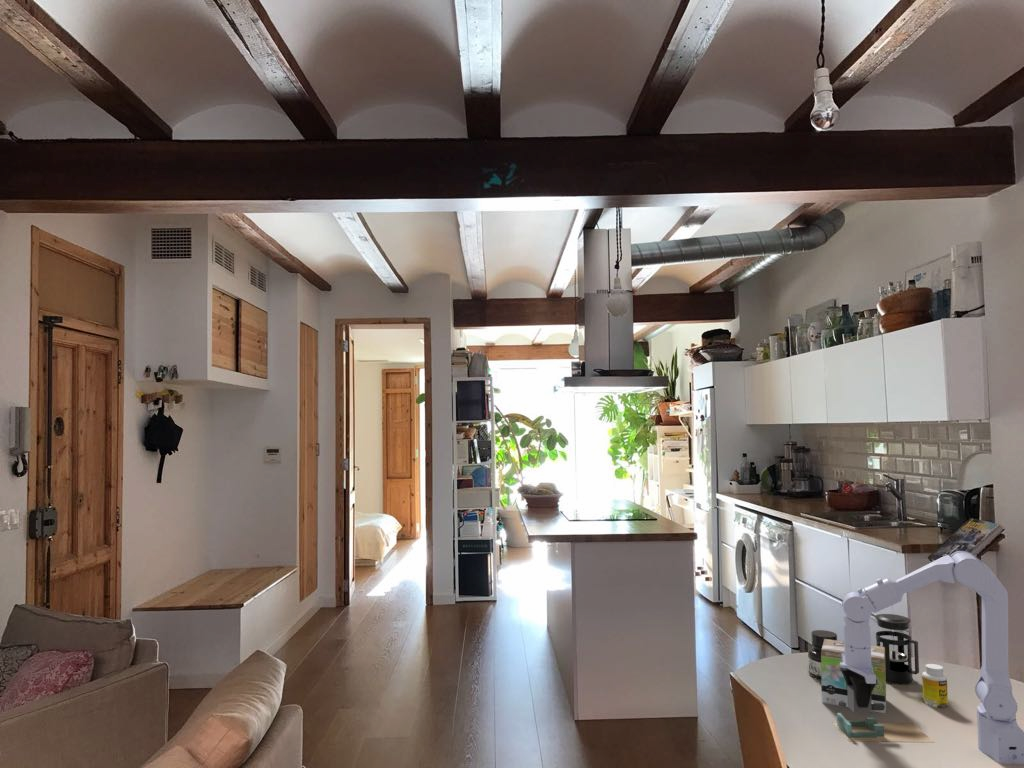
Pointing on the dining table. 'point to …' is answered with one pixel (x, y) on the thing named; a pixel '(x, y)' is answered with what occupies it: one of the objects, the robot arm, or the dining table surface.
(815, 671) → the black pill bottle
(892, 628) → the french press
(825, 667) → the tea box
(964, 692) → the dining table surface
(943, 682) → the supplement bottle
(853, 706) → the block
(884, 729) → the board
